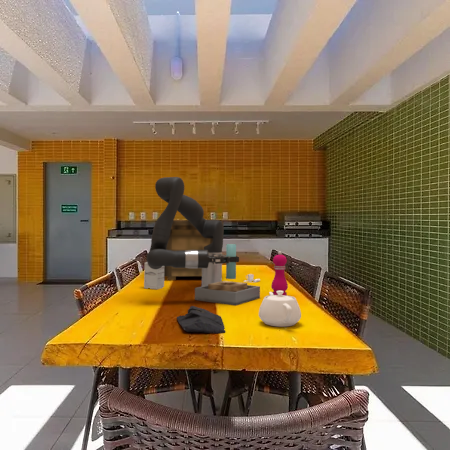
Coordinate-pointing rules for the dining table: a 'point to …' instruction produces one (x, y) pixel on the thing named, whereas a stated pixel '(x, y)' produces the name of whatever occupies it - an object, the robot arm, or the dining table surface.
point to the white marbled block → (153, 277)
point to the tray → (227, 295)
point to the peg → (232, 265)
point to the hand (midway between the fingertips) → (237, 258)
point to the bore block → (228, 286)
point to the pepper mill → (279, 274)
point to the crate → (184, 247)
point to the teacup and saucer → (251, 278)
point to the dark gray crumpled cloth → (201, 321)
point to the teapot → (279, 310)
